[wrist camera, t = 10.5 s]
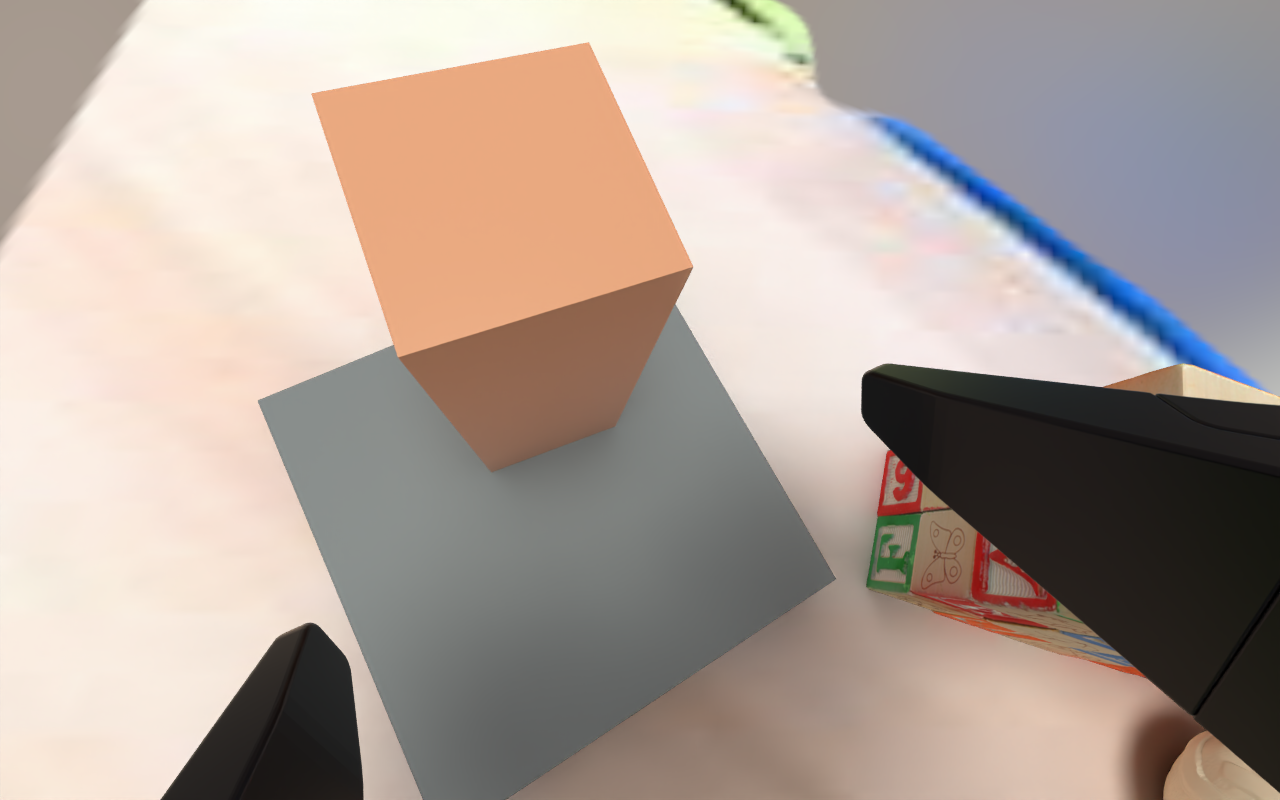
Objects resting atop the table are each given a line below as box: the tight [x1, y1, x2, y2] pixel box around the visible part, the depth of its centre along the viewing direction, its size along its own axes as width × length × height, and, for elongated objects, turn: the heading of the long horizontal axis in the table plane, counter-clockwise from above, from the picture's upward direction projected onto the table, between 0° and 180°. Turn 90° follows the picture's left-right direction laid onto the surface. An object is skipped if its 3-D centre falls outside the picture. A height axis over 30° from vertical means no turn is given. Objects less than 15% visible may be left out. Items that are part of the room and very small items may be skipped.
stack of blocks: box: [866, 364, 1280, 678], centre depth 18 cm, size 21×6×12 cm, turn 73°
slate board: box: [258, 305, 836, 800], centre depth 21 cm, size 16×16×1 cm
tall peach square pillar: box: [312, 43, 693, 472], centre depth 15 cm, size 5×5×12 cm
